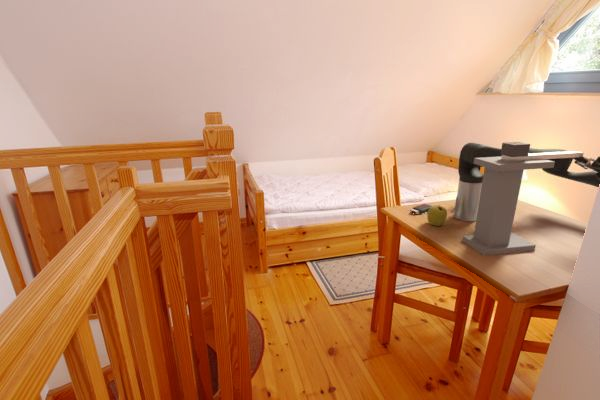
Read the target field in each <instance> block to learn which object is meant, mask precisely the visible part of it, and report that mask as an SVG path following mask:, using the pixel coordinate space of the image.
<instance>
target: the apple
mask: <svg viewBox="0 0 600 400" xmlns="http://www.w3.org/2000/svg"><path fill="white" fill-rule="evenodd" d="M431 206H432V207H431V208H430V209H429V210H428V212H427V213H426V214H427V215H426V217H427V218H426V219H427V221H428V224H430V225H431V226H435V227H440V226H441V225H443V224H444V223H445V222H446V220H447V217H448V211H447V209H446V208H445V207H443V206H441V205H431Z"/></svg>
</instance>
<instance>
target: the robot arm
mask: <svg viewBox="0 0 600 400" xmlns="http://www.w3.org/2000/svg"><path fill="white" fill-rule="evenodd" d="M563 151H568V150H566V149H560V148H529V153H545V152H563ZM500 156H502V155H501V148H499V147H495V146H490V145H486V144H481V143H476V142H467V143H466V144H464V145H463V147H462V148H461V149H460V152H459V158H458V169H457V171H458V175H459V179H458V186H457V193H456V194H457V195H456V197H455V202H454V203H455V205H454V209H453V219H457V220H459V221H463V222H476V218H477V212H478V206H479V200H480V193H481V187H482V181H483V175H484V173H482V172H481V170H480V171H479V168H478V167H481V168H484V167H483V166H480V165H477V164H474V158H482V157H500ZM545 160H550V161H554V162H555V164H554V168H541V170H542V171H543V172H544V173H547V174H549V175H552V176H556V177H558V178H563V179H566V180H571V181H574V182H576V183H577V182H578V183H581V184H582V183H583V184H585V185H590V186H593V187H595V188H598V187H599V184H600V156H598V157H597V158H596V159H595V158H592V157H591V158H588V157H585V156H583V157H573V158H556V159H545ZM573 161H574V162H573ZM591 162H592V163H591ZM572 163H574V164H576V165H578V166H580V167H581V168H583V169H584V170H588V169H589V170H591V171H586V172H572V171H568V170H569V169H570V167H571V164H572Z"/></svg>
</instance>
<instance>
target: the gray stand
mask: <svg viewBox="0 0 600 400" xmlns="http://www.w3.org/2000/svg"><path fill="white" fill-rule="evenodd" d="M501 158H502V156H500V157H482V158H474V164H477V165H480V166H483V167H482V168H483V169H484V170H483V181H482V187H481V193H480V200H479V206H478V212H477V218H476V221H475V225H474V232H473V234H469V235H462V237H461V241H462V242H464V243H465V244H466V245H468V246H469V247H470V248H472V249H473V250H475V251H476V252H478V253H479V254H481V255H482V256H489V255H498V254H499V255H500V254H509V253H518V252H531V251H536V248H537V247H536V244H534V243H533V242H531V241H528V240H527V239H525V238H523V237H522V236H520V235H517V234H516V233H514V232H512V229H513V225H514V220H515V215H516V210H517V204H518V200H519V194H520V191H521V185H522V181H523V175H524V170H540V169H541V170H542V168H554V164H555V162H554V161H550V160H545V159H539V160H522V161H506V160H502V159H501Z"/></svg>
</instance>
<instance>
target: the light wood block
mask: <svg viewBox="0 0 600 400" xmlns="http://www.w3.org/2000/svg"><path fill="white" fill-rule="evenodd" d="M530 147H531V144H530V143H526V142H521V141H514V142H513V141H512V142H509V141H507V142H502V143H501V148H500V149H501V155H502V158H501V159H502V160H506V161H522V160H539V159H556V158H573V157H584V152H583V151H576V150H567V151H563V152H545V153H529V148H530Z"/></svg>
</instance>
